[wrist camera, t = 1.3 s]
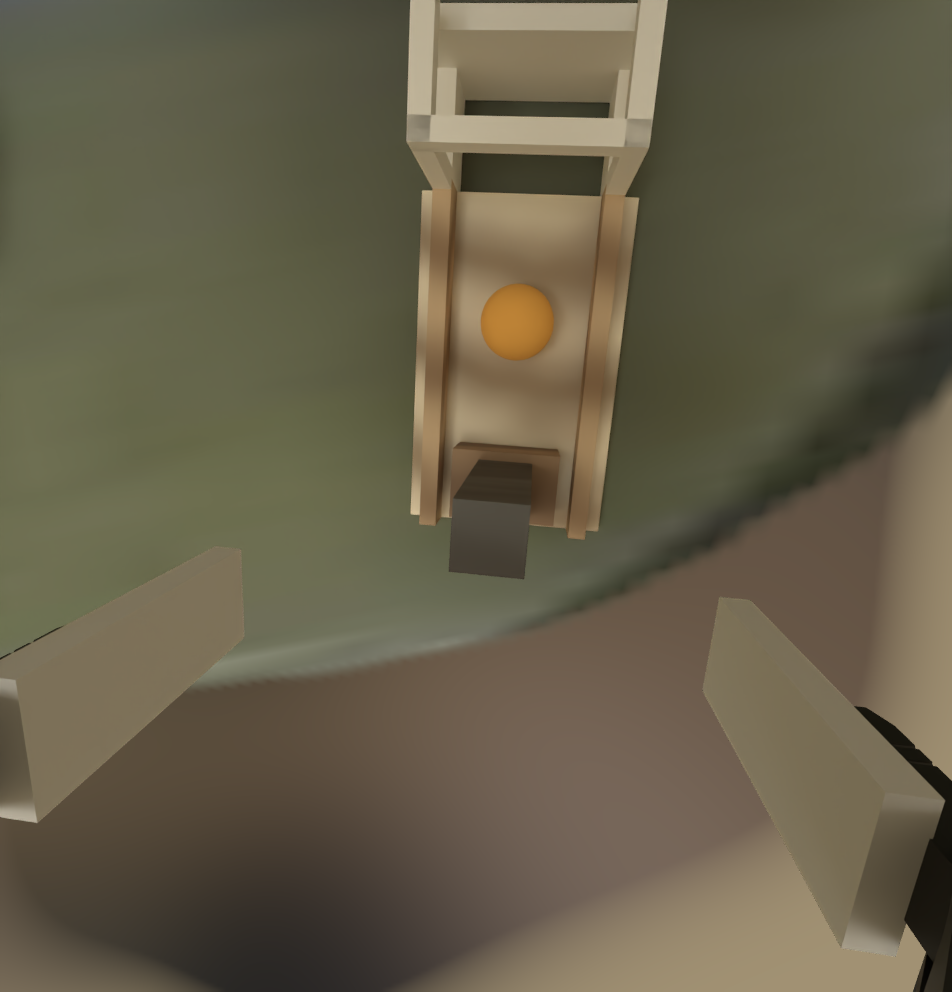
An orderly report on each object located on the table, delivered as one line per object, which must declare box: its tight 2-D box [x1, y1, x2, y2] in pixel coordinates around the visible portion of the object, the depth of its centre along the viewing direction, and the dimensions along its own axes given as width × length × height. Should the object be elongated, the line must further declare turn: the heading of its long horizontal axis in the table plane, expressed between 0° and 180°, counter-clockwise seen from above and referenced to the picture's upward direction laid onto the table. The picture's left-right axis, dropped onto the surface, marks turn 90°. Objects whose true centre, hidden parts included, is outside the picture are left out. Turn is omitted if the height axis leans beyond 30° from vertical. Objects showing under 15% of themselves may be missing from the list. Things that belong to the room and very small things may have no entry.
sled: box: [449, 442, 560, 579], centre depth 26 cm, size 4×6×12 cm, turn 86°
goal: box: [406, 0, 668, 196], centre depth 25 cm, size 6×10×9 cm, turn 87°
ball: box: [481, 284, 554, 361], centre depth 29 cm, size 4×4×4 cm
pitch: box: [411, 181, 639, 540], centre depth 31 cm, size 19×12×3 cm, turn 176°
